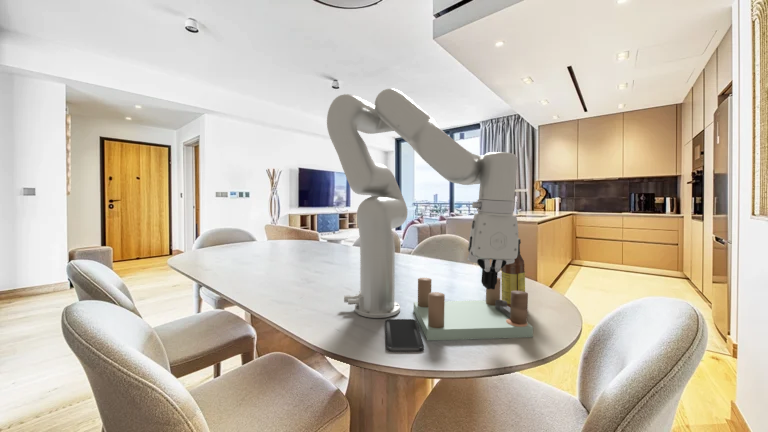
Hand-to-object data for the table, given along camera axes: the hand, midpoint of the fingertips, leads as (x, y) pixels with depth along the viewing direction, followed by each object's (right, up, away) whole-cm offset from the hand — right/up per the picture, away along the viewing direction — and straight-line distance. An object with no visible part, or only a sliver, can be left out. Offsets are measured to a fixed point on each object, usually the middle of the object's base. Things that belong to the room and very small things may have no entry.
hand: (488, 287), depth 71 cm
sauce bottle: (+13, -10, +17) cm, 24 cm away
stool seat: (-3, -10, +6) cm, 13 cm away
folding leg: (+7, -8, +4) cm, 11 cm away
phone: (-20, -11, -1) cm, 23 cm away
